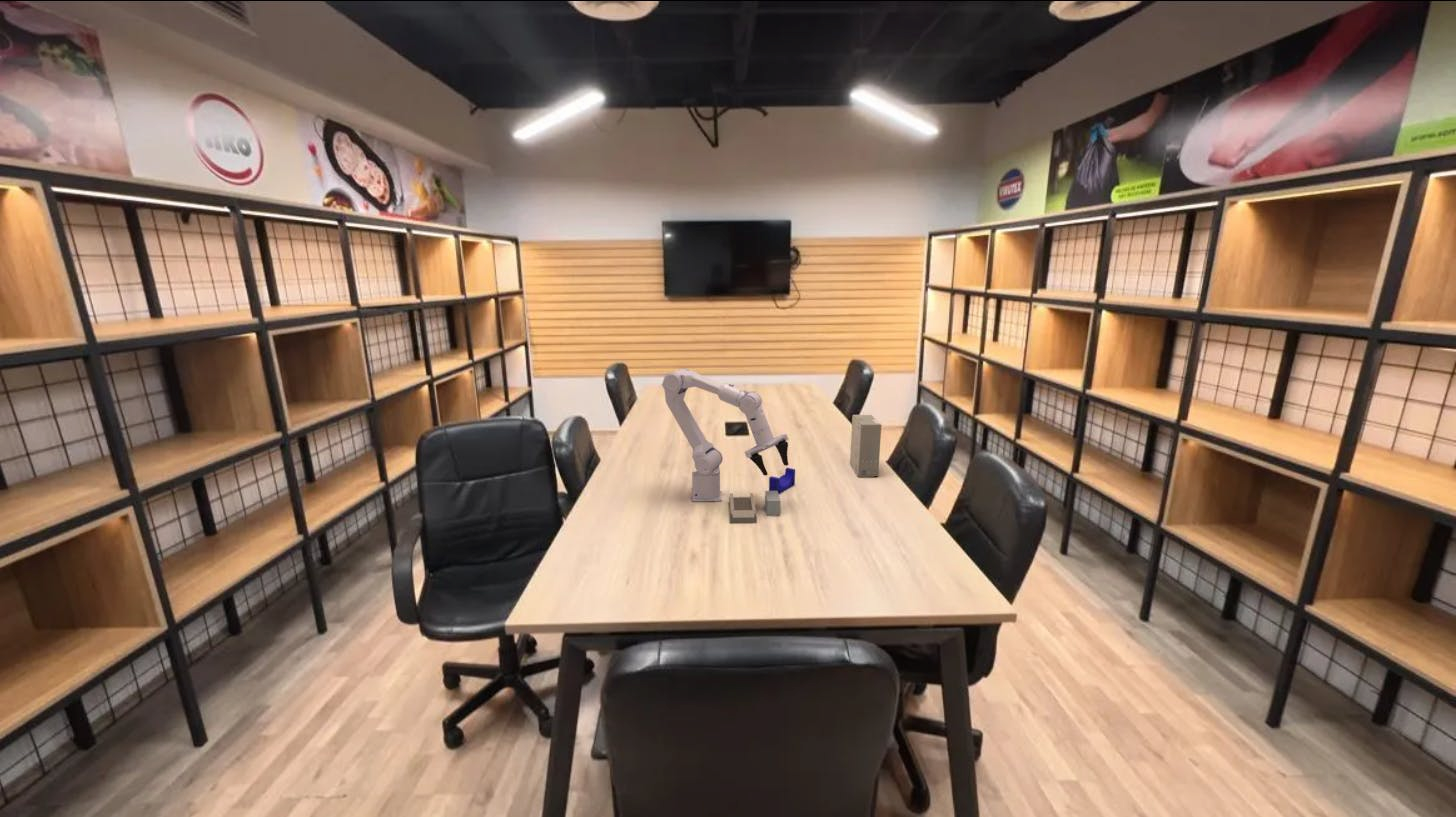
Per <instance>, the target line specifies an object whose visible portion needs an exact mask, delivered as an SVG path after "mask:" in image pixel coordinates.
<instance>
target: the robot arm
mask: <svg viewBox="0 0 1456 817" xmlns="http://www.w3.org/2000/svg"><path fill="white" fill-rule="evenodd" d="M661 386H662V388H663V389H664V397H665V403H666V405H667V407H668V408H669V410H670V413H671V414H672V416H673V418H674V419H675V421H676V422H677V424H678V427H679V428H680V430H681V432H682V433H683V435H684V436H685V438H686V440H687V442H688V444H689V445H690V447H691V449H692V453H691V454H692V456H691V458H692V461H693V462H694V468H695V469H696V471H692V474H691V494H692V495H691V497H692V498H691V501H692V502H721V501H722V490H721V468H720V465H721V464H722V462H723V455H722V452H721V451H720V450H718V449H717V448H716V447H715V445H714V444H713V443H712V442H710V441H709V440H707V438H706V436H705V435H704V433H703V431H702V429H701V427H700V426H699V424H698V423H697V421H696V419H695V417H694V416H693V414H692V412H691V410H690V409H689V407H688V405H687V403H686V402H685V399H684V398H685V396H686V393H687V390H688V389H689V388H693V387H694V388H697V389H701V390H703V391H706V392H708V393H712V394H715V395H717V396H718V399H719V400H720V401H722V402H724V403H726V404H729V405H731V406H732V407H733V406H734V407H736V408H739V410H740V412H741V413H743V414H744V416H745V417H746V421H747V423H748V426H749V427H750V428H749V429H750V431H751V433H752V436H753V439H754V441H755V446H753V447H752V448H750V449H748V450H745V451H744V454H745V457H746V458H747V459H750V460H751V461H752V462H753V463H754V464H755V466H757V468H758V469H759V470H760V472H761V474H762V475H763V476H765V477H766V476H768V471H767V469H766V466H765V464H764V460H763V456H762V455H761V454H760V453H761V452H763V451H764V452H765V451H766V450H768V449H770V448H773V447H775V448H776V449H777V452H778V454H779V456H780V459H781V462H782V464H783V466H786V467H787V466H789V460H788V451H789V450H788V449H789V443H788V441H789V436H788V435H787V434H786V433H783V434H781V435H778V436H776V437H774V436H773V432H772V430H771V427H770V425H769V422H768V420H767V417H766V414H765V412H764V409H763V407H762V404H763V401H762V400H763V399H762V397H761V395H760V394H759V393H758V392H756V391H754V390H753V391H752V390H751V391H748V389H746V388H744V389H742V388H741V387H740V388H739V387H737V386H735V383H733V382H729V383H724V384H721V383H719V382H716V381H714V380H712V379H710V378H708V377H705V376H703V375H701V374H699V373H698V372H696V371H694V370H690V369H689V368H686V367H681V368H679V369H677V370H674V371H671V372H668V373H666V374H665V376H664V378H663V380H662V384H661Z"/></svg>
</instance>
